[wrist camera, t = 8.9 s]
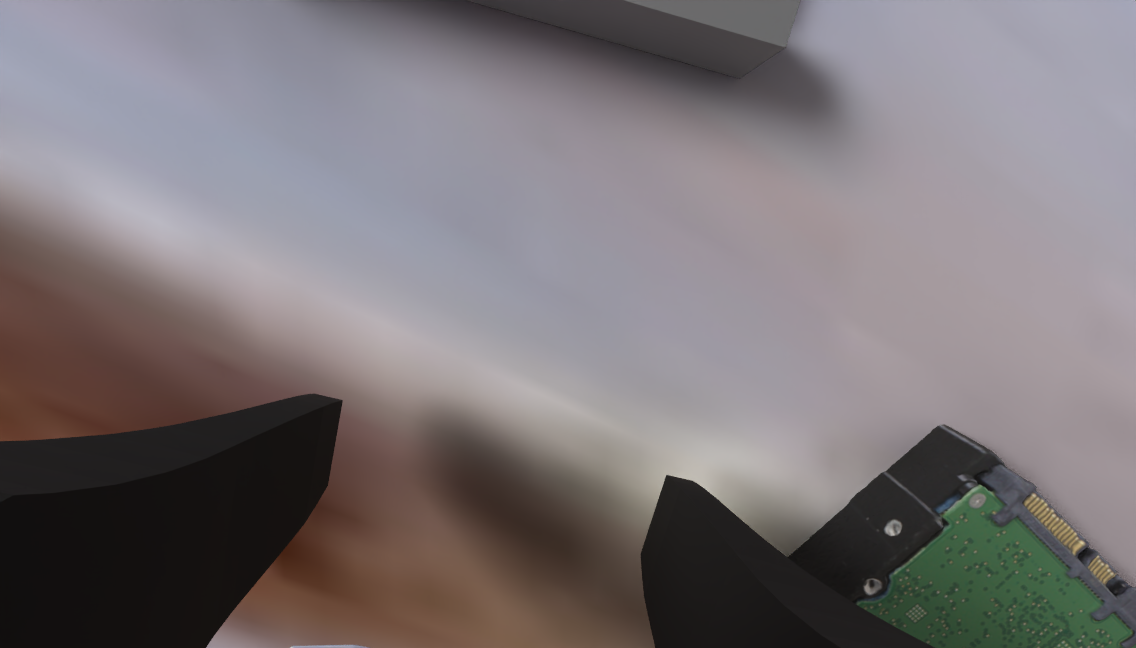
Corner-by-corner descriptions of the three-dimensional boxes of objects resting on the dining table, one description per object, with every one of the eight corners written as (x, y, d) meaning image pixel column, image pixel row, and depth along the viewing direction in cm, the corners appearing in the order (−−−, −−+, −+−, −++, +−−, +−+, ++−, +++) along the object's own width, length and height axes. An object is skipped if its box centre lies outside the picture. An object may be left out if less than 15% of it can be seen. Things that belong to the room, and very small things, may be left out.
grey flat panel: (527, 773, 16) (521, 873, 14) (122, 697, 15) (39, 790, 13) (904, -462, 10) (1017, -678, 7) (244, -703, 9) (128, -1036, 7)
